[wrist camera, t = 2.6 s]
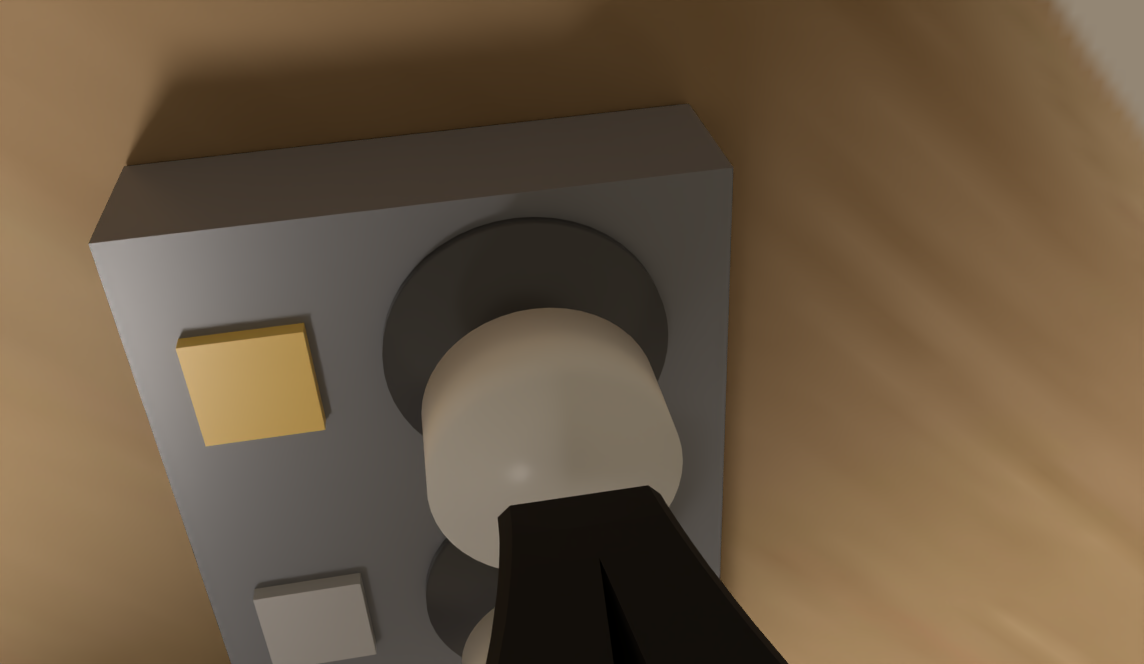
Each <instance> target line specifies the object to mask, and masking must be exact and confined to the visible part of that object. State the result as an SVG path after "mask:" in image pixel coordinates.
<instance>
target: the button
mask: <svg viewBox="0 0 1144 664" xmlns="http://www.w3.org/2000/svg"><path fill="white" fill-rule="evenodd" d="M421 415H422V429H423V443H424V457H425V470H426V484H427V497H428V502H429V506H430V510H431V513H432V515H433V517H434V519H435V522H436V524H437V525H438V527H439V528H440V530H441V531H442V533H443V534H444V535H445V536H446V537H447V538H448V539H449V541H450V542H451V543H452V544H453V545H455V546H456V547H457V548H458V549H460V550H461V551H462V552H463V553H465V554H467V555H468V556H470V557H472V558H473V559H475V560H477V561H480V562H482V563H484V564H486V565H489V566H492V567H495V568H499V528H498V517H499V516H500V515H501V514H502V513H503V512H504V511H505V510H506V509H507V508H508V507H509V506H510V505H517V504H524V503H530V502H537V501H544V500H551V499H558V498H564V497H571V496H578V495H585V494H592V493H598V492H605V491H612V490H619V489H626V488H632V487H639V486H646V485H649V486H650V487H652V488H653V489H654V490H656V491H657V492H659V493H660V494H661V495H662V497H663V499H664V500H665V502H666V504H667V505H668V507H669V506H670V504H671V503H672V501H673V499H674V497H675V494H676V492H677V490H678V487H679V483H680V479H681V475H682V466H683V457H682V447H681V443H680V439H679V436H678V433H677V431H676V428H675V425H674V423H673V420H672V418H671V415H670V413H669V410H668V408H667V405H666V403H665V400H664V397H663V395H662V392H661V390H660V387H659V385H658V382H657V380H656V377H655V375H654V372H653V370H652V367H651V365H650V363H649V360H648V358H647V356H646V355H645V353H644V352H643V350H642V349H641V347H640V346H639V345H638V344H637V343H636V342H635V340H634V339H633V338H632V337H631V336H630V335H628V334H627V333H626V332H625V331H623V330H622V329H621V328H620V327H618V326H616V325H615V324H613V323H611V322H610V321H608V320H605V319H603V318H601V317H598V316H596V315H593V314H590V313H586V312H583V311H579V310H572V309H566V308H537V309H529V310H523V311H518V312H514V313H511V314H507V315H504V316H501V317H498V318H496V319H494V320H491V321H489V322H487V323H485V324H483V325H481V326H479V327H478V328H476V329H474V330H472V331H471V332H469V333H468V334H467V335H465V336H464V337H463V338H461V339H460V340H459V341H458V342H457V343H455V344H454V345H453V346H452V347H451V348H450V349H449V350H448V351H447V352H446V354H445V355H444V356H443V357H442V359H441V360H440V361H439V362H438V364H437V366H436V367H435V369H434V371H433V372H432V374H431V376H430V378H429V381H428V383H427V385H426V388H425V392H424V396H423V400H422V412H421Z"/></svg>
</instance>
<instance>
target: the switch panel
mask: <svg viewBox="0 0 1144 664" xmlns="http://www.w3.org/2000/svg"><path fill="white" fill-rule="evenodd" d="M732 193H733V166H732V165H731V163H730V162H729V161H728V159H727V158H726V156H725V155H724V153H723V152H722V151H721V149H720V148H719V146H718V145H717V143H716V142H715V140H714V139H713V138H712V136H711V135H710V133H709V132H708V130H707V129H706V128H705V126H704V125H703V123H702V122H701V120H700V119H699V118H698V116H697V115H696V113H695V112H694V110H693V109H692V107H691V106H690V105H689V104H681V105H672V106H663V107H654V108H645V109H636V110H627V111H618V112H609V113H600V114H591V115H582V116H573V117H564V118H555V119H546V120H537V121H528V122H519V123H510V124H501V125H492V126H483V127H474V128H465V129H456V130H447V131H438V132H429V133H420V134H411V135H402V136H393V137H384V138H375V139H366V140H357V141H348V142H339V143H330V144H321V145H312V146H303V147H294V148H285V149H276V150H267V151H258V152H249V153H240V154H231V155H222V156H213V157H204V158H195V159H186V160H177V161H168V162H159V163H150V164H141V165H132V166H124V168H123V170H122V172H121V174H120V176H119V178H118V181H117V183H116V185H115V187H114V189H113V191H112V194H111V196H110V198H109V200H108V202H107V205H106V207H105V209H104V211H103V213H102V215H101V218H100V220H99V222H98V224H97V226H96V228H95V231H94V233H93V235H92V237H91V239H90V242H89V247H90V250H91V252H92V255H93V258H94V261H95V264H96V267H97V270H98V273H99V276H100V279H101V282H102V285H103V288H104V291H105V294H106V297H107V300H108V302H109V305H110V308H111V311H112V314H113V317H114V320H115V323H116V326H117V329H118V332H119V335H120V338H121V341H122V344H123V347H124V350H125V353H126V355H127V358H128V361H129V364H130V367H131V370H132V373H133V376H134V379H135V382H136V385H137V388H138V391H139V394H140V397H141V400H142V403H143V405H144V408H145V411H146V414H147V417H148V420H149V423H150V426H151V429H152V432H153V435H154V438H155V441H156V444H157V447H158V450H159V453H160V456H161V458H162V461H163V464H164V467H165V470H166V473H167V476H168V479H169V482H170V485H171V488H172V491H173V494H174V497H175V500H176V503H177V506H178V508H179V511H180V514H181V517H182V520H183V523H184V526H185V529H186V532H187V535H188V538H189V541H190V544H191V547H192V550H193V553H194V556H195V559H196V561H197V564H198V567H199V570H200V573H201V576H202V579H203V582H204V585H205V588H206V591H207V594H208V597H209V600H210V603H211V606H212V609H213V611H214V614H215V617H216V620H217V623H218V626H219V629H220V632H221V635H222V638H223V641H224V644H225V647H226V650H227V653H228V656H229V659H230V661H231V664H462V654H463V650H464V646H465V643H466V641H467V639H468V637H469V635H470V633H471V632H472V630H473V629H474V627H475V626H476V625H477V624H478V622H479V621H480V620H481V619H482V618H483V617H484V616H485V615H486V614H487V613H489V612H490V611H491V610H492V609H493V608H495V603H496V595H497V585H498V572H499V568H495V567H492V566H489V565H486V564H484V563H482V562H480V561H477V560H475V559H473V558H472V557H470V556H468V555H467V554H465V553H463V552H462V551H461V550H460V549H458V548H457V547H456V546H455V545H453V544H452V543H451V542H450V541H449V539H448V538H447V537H446V536H445V535H444V534H443V533H442V531H441V530H440V528H439V527H438V525H437V524H436V522H435V519H434V517H433V515H432V513H431V510H430V506H429V502H428V497H427V484H426V470H425V457H424V443H423V429H422V415H421V412H422V400H423V396H424V392H425V388H426V385H427V383H428V381H429V378H430V376H431V374H432V372H433V371H434V369H435V367H436V366H437V364H438V362H439V361H440V360H441V359H442V357H443V356H444V355H445V354H446V352H447V351H448V350H449V349H450V348H451V347H452V346H453V345H454V344H455V343H457V342H458V341H459V340H460V339H461V338H463V337H464V336H465V335H467V334H468V333H469V332H471V331H472V330H474V329H476V328H478V327H479V326H481V325H483V324H485V323H487V322H489V321H491V320H494V319H496V318H498V317H501V316H504V315H507V314H511V313H514V312H518V311H523V310H529V309H537V308H566V309H572V310H579V311H583V312H586V313H590V314H593V315H596V316H598V317H601V318H603V319H605V320H608V321H610V322H611V323H613V324H615V325H616V326H618V327H620V328H621V329H622V330H623V331H625V332H626V333H627V334H628V335H630V336H631V337H632V338H633V339H634V340H635V342H636V343H637V344H638V345H639V346H640V347H641V349H642V350H643V352H644V353H645V355H646V356H647V358H648V360H649V363H650V365H651V367H652V370H653V372H654V375H655V377H656V380H657V382H658V385H659V387H660V390H661V392H662V395H663V397H664V400H665V403H666V405H667V408H668V410H669V413H670V415H671V418H672V420H673V423H674V425H675V428H676V431H677V433H678V436H679V439H680V443H681V447H682V457H683V466H682V475H681V479H680V483H679V487H678V490H677V492H676V494H675V497H674V499H673V501H672V503H671V504H670V506H669V508H670V510H671V511H672V513H673V514H674V516H675V517H676V519H677V520H678V522H679V523H680V525H681V526H682V528H683V530H684V531H685V532H686V534H687V535H688V537H689V538H690V540H691V541H692V542H693V544H694V545H695V547H696V548H697V549H698V551H699V552H700V554H701V555H702V556H703V558H704V559H705V560H706V562H707V563H708V565H709V566H710V567H711V569H712V570H713V571H714V572H715V574H716V575H717V576H718V578H719V579H720V560H721V530H722V499H723V468H724V438H725V407H726V376H727V346H728V315H729V284H730V254H731V223H732Z"/></svg>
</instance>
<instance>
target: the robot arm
mask: <svg viewBox="0 0 1144 664" xmlns="http://www.w3.org/2000/svg"><path fill="white" fill-rule="evenodd" d="M498 528H499V572H498V585H497V595H496V603H495V610H494V617H493V625H492V632H491V639H490V644H489V650H488V655H487V660H486V664H788V663H787V661H786V660H785V659H784V658H783V657H782V656H781V654H780V653H779V652H778V651H777V650H776V648H775V647H774V646H773V645H772V644H771V643H770V641H769V640H768V639H767V638H766V637H765V636H764V634H763V633H762V632H761V631H760V630H759V628H758V627H757V626H756V625H755V624H754V622H753V621H752V620H751V619H750V617H749V616H748V615H747V614H746V612H745V611H744V610H743V609H742V607H741V606H740V605H739V604H738V602H737V601H736V600H735V599H734V597H733V596H732V595H731V593H730V592H729V591H728V589H727V588H726V587H725V586H724V584H723V583H722V582H721V580H720V579H719V578H718V576H717V575H716V574H715V572H714V571H713V570H712V569H711V567H710V566H709V565H708V563H707V562H706V560H705V559H704V558H703V556H702V555H701V554H700V552H699V551H698V549H697V548H696V547H695V545H694V544H693V542H692V541H691V540H690V538H689V537H688V535H687V534H686V532H685V531H684V530H683V528H682V526H681V525H680V523H679V522H678V520H677V519H676V517H675V516H674V514H673V513H672V511H671V510H670V508H669V507H668V505H667V504H666V502H665V500H664V499H663V497H662V495H661V494H660V493H659V492H657V491H656V490H654V489H653V488H652V487H650V486H649V485H646V486H639V487H632V488H626V489H619V490H612V491H605V492H598V493H592V494H585V495H578V496H571V497H564V498H558V499H551V500H544V501H537V502H530V503H524V504H517V505H510V506H509V507H508V508H507V509H506V510H505V511H504V512H503V513H502V514H501V515H500V516H499V517H498Z"/></svg>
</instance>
